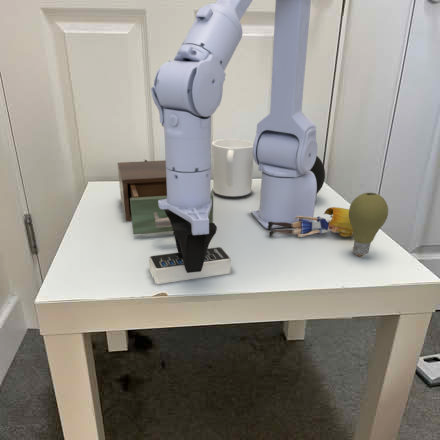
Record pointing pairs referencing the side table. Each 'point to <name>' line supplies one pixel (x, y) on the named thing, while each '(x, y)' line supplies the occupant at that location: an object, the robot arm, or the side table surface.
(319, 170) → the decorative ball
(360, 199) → the light bulb
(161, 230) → the drawer
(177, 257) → the multiport hub
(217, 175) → the mug
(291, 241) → the side table surface
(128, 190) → the cabinet
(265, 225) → the robot arm
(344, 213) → the figurine
